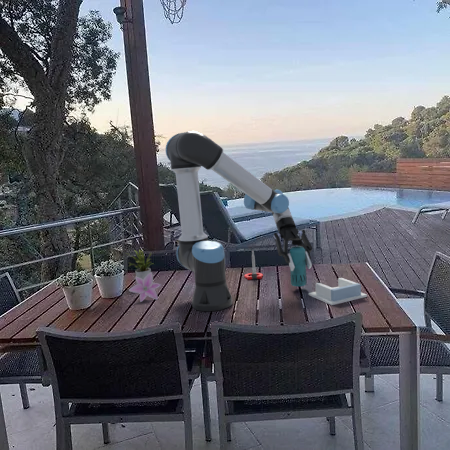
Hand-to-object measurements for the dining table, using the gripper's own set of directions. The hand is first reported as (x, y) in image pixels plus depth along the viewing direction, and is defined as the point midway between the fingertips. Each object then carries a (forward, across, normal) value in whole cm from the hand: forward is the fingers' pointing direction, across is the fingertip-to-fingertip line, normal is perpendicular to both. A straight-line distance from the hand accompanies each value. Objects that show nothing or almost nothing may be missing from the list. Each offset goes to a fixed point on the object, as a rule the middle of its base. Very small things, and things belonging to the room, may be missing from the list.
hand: (301, 268), depth 169 cm
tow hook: (-14, +11, -28) cm, 33 cm away
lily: (-7, +60, -22) cm, 64 cm away
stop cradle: (+14, -10, 0) cm, 17 cm away
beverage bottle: (+4, 0, -9) cm, 10 cm away
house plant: (-25, +60, -40) cm, 76 cm away
